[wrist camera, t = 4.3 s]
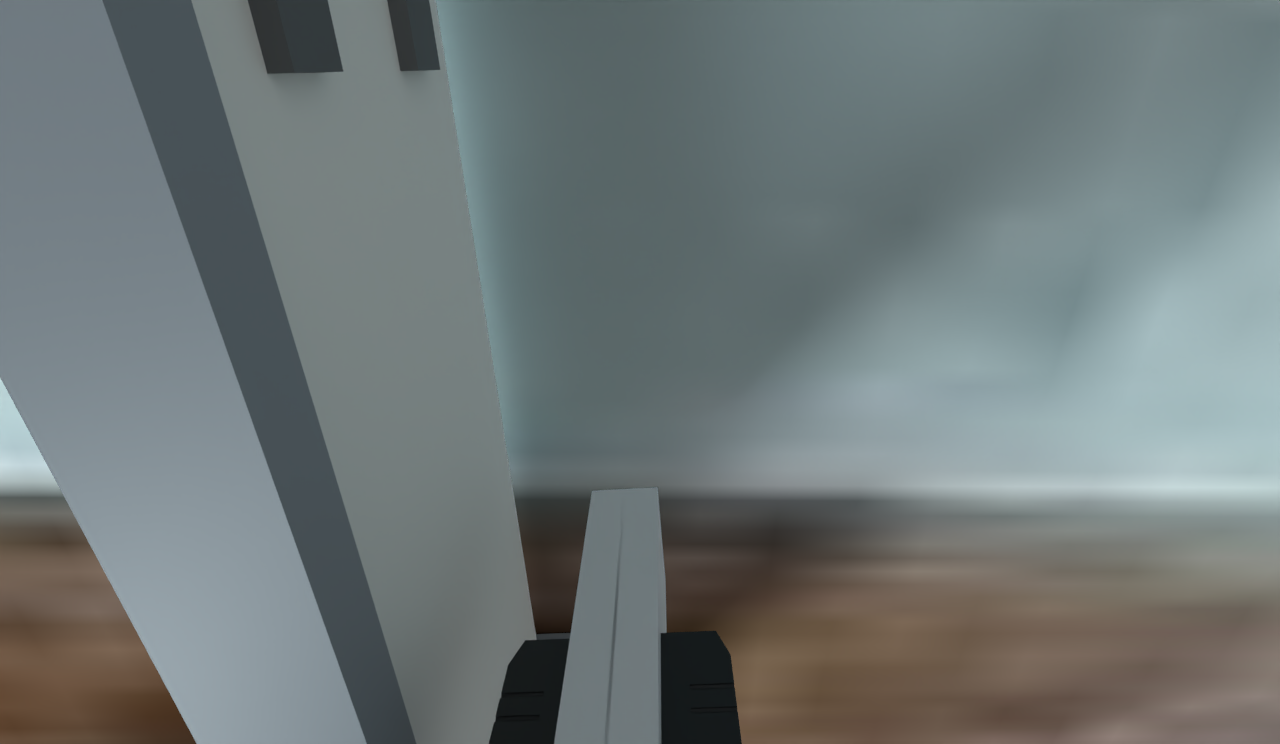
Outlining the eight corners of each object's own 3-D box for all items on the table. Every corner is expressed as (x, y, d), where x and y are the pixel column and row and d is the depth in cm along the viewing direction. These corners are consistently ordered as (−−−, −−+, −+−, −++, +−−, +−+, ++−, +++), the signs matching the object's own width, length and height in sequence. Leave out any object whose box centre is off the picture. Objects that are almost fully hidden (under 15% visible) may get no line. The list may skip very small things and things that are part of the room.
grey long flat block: (280, -268, 11) (-927, -1347, 3) (463, -281, 10) (-181, -1449, 2) (485, 683, 21) (377, 1080, 13) (580, 681, 21) (532, 1082, 12)
